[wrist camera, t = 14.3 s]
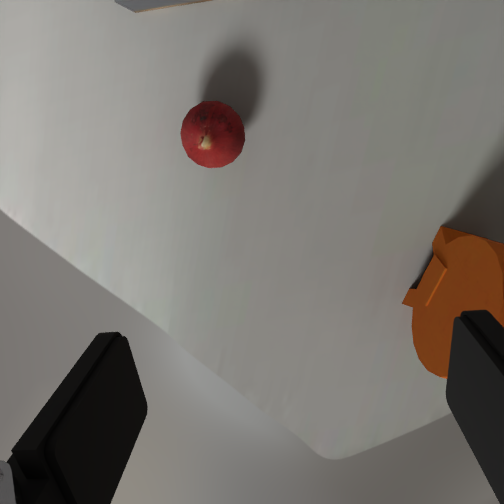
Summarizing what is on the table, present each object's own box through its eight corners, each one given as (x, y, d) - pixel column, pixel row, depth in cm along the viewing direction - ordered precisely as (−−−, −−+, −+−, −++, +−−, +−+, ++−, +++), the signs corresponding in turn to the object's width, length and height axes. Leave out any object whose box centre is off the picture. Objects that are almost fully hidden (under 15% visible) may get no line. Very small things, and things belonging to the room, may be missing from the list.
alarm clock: (443, 326, 45) (554, 491, 27) (394, 314, 45) (473, 471, 26) (500, 226, 40) (689, 346, 21) (445, 211, 39) (589, 319, 21)
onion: (187, 101, 37) (163, 105, 29) (245, 97, 36) (236, 100, 29) (194, 161, 39) (174, 179, 32) (249, 158, 38) (242, 175, 31)
